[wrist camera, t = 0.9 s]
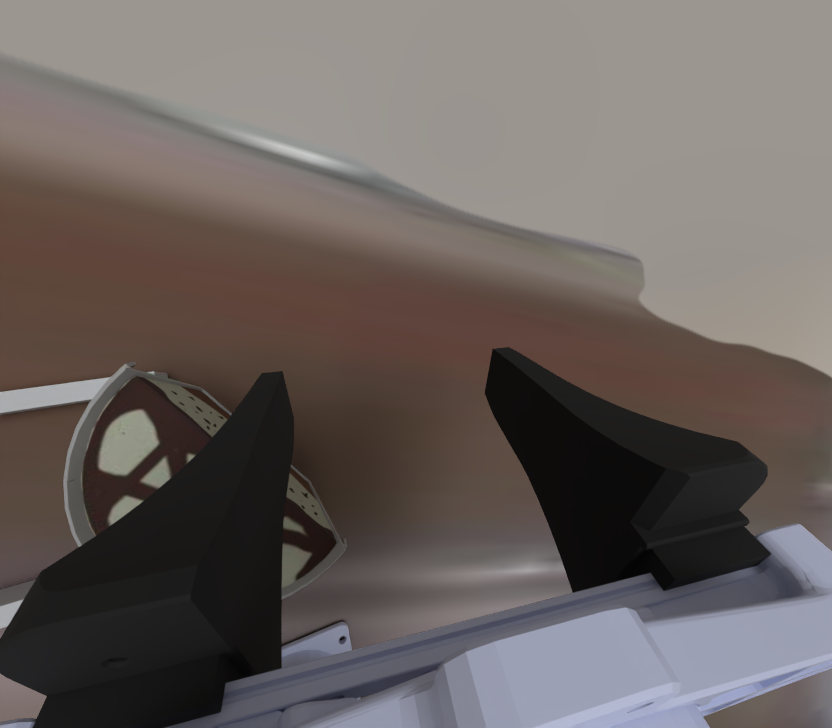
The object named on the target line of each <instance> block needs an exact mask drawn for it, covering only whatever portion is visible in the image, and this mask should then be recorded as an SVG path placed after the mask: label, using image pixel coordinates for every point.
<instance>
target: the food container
mask: <svg viewBox="0 0 832 728" xmlns="http://www.w3.org/2000/svg"><path fill="white" fill-rule="evenodd" d="M135 365H136V363H135V362H134V361H132V362H129V363H126V364H124V365H123V366H122V367H121V368H120V369H119V370H118V371H117V372H116V373H115V374H114V375H113V376H112V377H110V378H109V379H108V380H107V381H106V382H105V384H104V385H103V386H102V388H101V389H100V390H99V391H98V393H97V394H96V395H95V396H94V398H93V399H92V400H91V401H90V403H89V404H88V406H87V408H86V410H85V412H84V414H83V415H82V417H81V419H80V421H79V423H78V424H77V426H76V429H75V432H74V435H73V438H72V440H71V443H70V446H69V449H68V452H67V459H66V466H65V473H64V482H63V484H64V500H65V510H66V514H67V518H68V521H69V525H70V528H71V532H72V535H73V537H74V539H75V541H76V542H77V544H78V546H79V547H80V546H81V545H83V544H84V543H86V542H87V541H89V540H91V539H92V538H94V537H95V536H97V535H98V534H99V533H101V532H102V531H104V530H105V529H107V528H108V527H109V526H111V525H112V524H113V523H115V522H116V521H118V520H119V519H120V518H122V517H123V516H124V515H126V514H127V513H129V512H130V511H131V510H132V509H134V508H135V507H136V506H138V505H139V504H140V503H142V502H143V501H144V500H145V499H147V498H148V497H149V496H150V495H152V494H153V493H154V492H155V491H156V490H157V489H159V488H160V487H161V486H162V485H163V484H165V483H166V482H167V481H168V480H169V479H170V478H172V477H173V476H174V475H175V474H176V473H177V472H179V471H180V470H181V469H182V468H183V467H184V466H185V465H186V464H187V463H188V462H189V461H190V460H191V459H192V458H193V457H194V456H195V455H196V454H197V453H198V452H199V451H200V450H201V449H202V448H203V447H204V446H205V445H206V444H207V443H208V442H209V441H210V439H211V438H212V437H213V436H214V435H215V434H216V433H217V431H218V430H219V429H220V428H221V427H222V426H223V424H224V423H225V422H226V421H227V420H228V418H229V417H230V416H231V415H232V413H231V412H230V411H228V410H227V409H226V408H225V407H224V406H223V405H221V404H220V403H219V402H218V401H217V400H216V399H215V398H213V397H212V396H211V395H210V394H209V393H208V392H206V391H205V390H204V389H203V388H202V387H199V386H195V385H191V384H188V383H184V382H180V381H177V380H173V379H169V378H165V377H162V376H158V375H154V374H151V373H147V372H143V371H139V370H136V369H133V367H134V366H135ZM346 549H347V540H346V539H345V538H343V539H342V540H341V539H340V537H339V535H338V533H337V531H336V529H335V527H334V525H333V523H332V522H331V520H330V518H329V516H328V514H327V512H326V510H325V508H324V506H323V504H322V502H321V500H320V498H319V497H318V495H317V493H316V491H315V489H314V487H313V485H312V483H311V481H310V480H309V479H308V478H306V477H305V476H304V475H303V474H302V473H301V472H299V471H298V470H297V469H296V468H295V467H294V466H292V465H291V468H290V475H289V482H288V489H287V496H286V503H285V511H284V522H283V549H282V599H284V598H286V597H288V596H290V595H292V594H294V593H296V592H297V591H299V590H300V589H302V588H304V587H305V586H307V585H308V584H310V583H311V582H313V581H314V580H315V579H317V578H318V577H319V576H320V575H322V574H323V573H324V572H325V571H326V570H328V569H329V568H330V567H331V566H332V565H333V564H334V563H335V562H336V561H337V560H338V559H339V558H340V557H341V556H342V554H343V553H344V552H345V551H346Z"/></svg>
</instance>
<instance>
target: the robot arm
mask: <svg viewBox="0 0 832 728" xmlns="http://www.w3.org/2000/svg"><path fill="white" fill-rule="evenodd" d="M485 395H486V397H487V400H488V403H489V405H490V408H491V410H492V412H493V415H494V417H495V419H496V421H497V422H498V424H499V426H500V428H501V430H502V431H503V433H504V435H505V436H506V438H507V440H508V442H509V443H510V445H511V447H512V449H513V450H514V452H515V454H516V455H517V457H518V459H519V461H520V462H521V464H522V466H523V468H524V470H525V472H526V474H527V475H528V477H529V480H530V482H531V484H532V486H533V489H534V491H535V493H536V496H537V498H538V500H539V502H540V505H541V507H542V510H543V512H544V515H545V517H546V519H547V522H548V524H549V527H550V529H551V532H552V535H553V537H554V540H555V543H556V545H557V548H558V551H559V553H560V556H561V559H562V562H563V565H564V568H565V571H566V574H567V577H568V580H569V583H570V585H571V588H572V592H573V593H570V594H567V595H563V596H559V597H555V598H551V599H547V600H543V601H540V602H536V603H532V604H528V605H524V606H520V607H516V608H513V609H509V610H505V611H501V612H497V613H493V614H489V615H486V616H482V617H478V618H474V619H470V620H466V621H462V622H459V623H455V624H451V625H447V626H443V627H439V628H435V629H432V630H428V631H424V632H420V633H416V634H412V635H408V636H405V637H401V638H397V639H393V640H389V641H385V642H381V643H378V644H374V645H370V646H366V647H362V648H358V649H354V650H352V647H351V641H350V635H349V629H348V626H347V624H346V623H345V622H339V623H337V624H334V625H332V626H329V627H327V628H325V629H322V630H320V631H318V632H315V633H313V634H310V635H308V636H306V637H303V638H301V639H299V640H296V641H294V642H291V643H289V644H287V645H284V646H282V644H281V606H282V549H283V522H284V511H285V503H286V496H287V489H288V482H289V475H290V468H291V460H292V453H293V444H294V417H293V413H292V409H291V405H290V401H289V396H288V392H287V388H286V384H285V380H284V376H283V372H282V371H280V372H271V373H262V374H261V375H260V377H259V378H258V379H257V381H256V382H255V384H254V385H253V386H252V388H251V389H250V391H249V392H248V393H247V395H246V396H245V398H244V399H243V400H242V402H241V403H240V404H239V406H238V407H237V408H236V409H235V411H234V412H233V413H232V415H231V416H230V417H229V418H228V420H227V421H226V422H225V423H224V424H223V426H222V427H221V428H220V429H219V430H218V431H217V433H216V434H215V435H214V436H213V437H212V438H211V439H210V441H209V442H208V443H207V444H206V445H205V446H204V447H203V448H202V449H201V450H200V451H199V452H198V453H197V454H196V455H195V456H194V457H193V458H192V459H191V460H190V461H189V462H188V463H187V464H186V465H185V466H184V467H183V468H182V469H181V470H180V471H179V472H177V473H176V474H175V475H174V476H173V477H172V478H170V479H169V480H168V481H167V482H166V483H165V484H163V485H162V486H161V487H160V488H159V489H157V490H156V491H155V492H154V493H153V494H152V495H150V496H149V497H148V498H147V499H145V500H144V501H143V502H142V503H140V504H139V505H138V506H136V507H135V508H134V509H132V510H131V511H130V512H129V513H127V514H126V515H124V516H123V517H122V518H120V519H119V520H118V521H116V522H115V523H113V524H112V525H111V526H109V527H108V528H107V529H105V530H104V531H102V532H101V533H99V534H98V535H97V536H95V537H94V538H92V539H91V540H89V541H87V542H86V543H84V544H83V545H81V546H80V547H78V548H77V549H75V550H74V551H72V552H71V553H69V554H68V555H66V556H65V557H63V558H62V559H60V560H59V561H57V562H56V563H54V564H52V565H51V566H49V567H48V568H46V569H44V570H43V571H41V573H40V574H39V576H38V577H37V579H36V581H35V582H34V584H33V585H32V587H31V588H30V590H29V591H28V593H27V595H26V596H25V598H24V600H23V601H22V603H21V605H20V606H19V608H18V610H17V612H16V613H15V615H14V617H13V618H12V620H11V622H10V623H9V625H8V627H7V628H6V630H5V632H4V634H3V635H2V637H1V639H0V673H1V674H2V675H4V676H5V677H7V678H9V679H11V680H13V681H15V682H18V683H20V684H22V685H24V686H26V687H28V688H31V689H33V690H35V691H37V692H39V693H42V694H44V695H46V696H47V698H46V700H45V702H44V704H43V706H42V708H41V711H40V713H39V715H38V717H37V719H34V718H23V719H15V720H9V721H4V722H0V728H710V727H709V726H708V724H707V722H706V721H705V719H704V718H703V716H706V715H709V714H711V713H714V712H716V711H719V710H722V709H724V708H727V707H729V706H732V705H735V704H737V703H740V702H743V701H745V700H748V699H750V698H753V697H756V696H758V695H761V694H764V693H766V692H769V691H771V690H774V689H777V688H779V687H782V686H785V685H787V684H790V683H793V682H795V681H798V680H801V679H803V678H806V677H809V676H812V675H814V674H817V673H820V672H823V671H825V670H828V669H831V668H832V551H831V550H829V549H828V548H827V547H826V546H825V545H824V544H822V543H821V542H820V541H819V540H818V539H817V538H815V537H814V536H813V535H812V534H811V533H810V532H809V531H807V530H806V529H805V528H804V527H803V526H802V525H800V524H797V523H794V524H790V525H786V526H782V527H778V528H774V529H770V530H766V531H764V532H761V533H759V534H757V535H756V536H753V535H752V534H751V533H750V532H749V531H748V530H747V529H746V528H745V527H744V526H747V525H748V524H749V520H748V518H747V517H746V516H745V515H743V514H742V513H741V512H740V511H739V509H740V508H741V507H742V506H743V504H744V503H745V502H746V501H747V500H748V499H749V498H750V497H751V496H752V495H753V494H754V493H755V492H756V491H757V490H758V489H759V488H760V487H761V485H762V484H763V483H764V481H765V479H766V477H767V465H766V464H765V463H764V462H762V461H761V460H760V459H759V458H757V457H756V456H755V455H754V454H753V453H751V452H750V451H749V450H748V449H746V448H745V447H744V446H743V445H741V444H740V443H738V442H736V441H732V440H728V439H724V438H720V437H715V436H711V435H707V434H703V433H699V432H695V431H691V430H687V429H684V428H681V427H677V426H674V425H670V424H667V423H664V422H661V421H658V420H655V419H652V418H649V417H646V416H643V415H640V414H638V413H635V412H632V411H630V410H627V409H624V408H622V407H619V406H617V405H615V404H612V403H610V402H608V401H606V400H603V399H601V398H599V397H597V396H594V395H592V394H590V393H588V392H586V391H584V390H582V389H581V388H579V387H577V386H575V385H573V384H571V383H569V382H567V381H566V380H564V379H562V378H560V377H559V376H557V375H555V374H553V373H552V372H550V371H548V370H547V369H545V368H543V367H542V366H540V365H538V364H537V363H535V362H533V361H532V360H530V359H528V358H527V357H525V356H523V355H522V354H520V353H518V352H517V351H515V350H513V349H511V348H509V347H506V348H497V349H493V350H492V356H491V361H490V367H489V372H488V378H487V383H486V389H485ZM342 636H345V638H344V639H343V640H341V641H340V640H339V639H340V637H342ZM374 693H376V694H374ZM371 694H373V695H371ZM367 695H371V696H368V697H366V698H363V699H360V697H364V696H367Z"/></svg>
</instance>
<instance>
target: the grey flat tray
mask: <svg viewBox="0 0 832 728" xmlns="http://www.w3.org/2000/svg"><path fill="white" fill-rule="evenodd" d="M147 373H151V374H154V375H158V376H162V377H165V378H168V374H167V373H162V372H155V371H153V372H147ZM109 378H110V377H109ZM109 378H101V379H94V380H87V381H79V382H72V383H64V384H57V385H50V386H42V387H35V388H27V389H20V390H13V391H5V392H0V415H5V414H12V413H18V412H25V411H32V410H38V409H45V408H51V407H58V406H64V405H71V404H77V403H84V402H90V401H91V400H92V399H93V398H94V396H95V395H96V394H97V393H98V391H99V390H100V389H101V388H102V386H103V385H104V384H105V382H106V381H107V380H108V379H109ZM35 581H36V579H35V580H32V581H28V582H25V583H21V584H18V585H14V586H11V587H7V588H4V589H0V628H3V627H7V626H8V625H9V623H10V622H11V620H12V618H13V617H14V615H15V613H16V612H17V610H18V608H19V606H20V605H21V603H22V601H23V600H24V598H25V596H26V595H27V593H28V591H29V590H30V588H31V587H32V585H33V584H34V582H35Z"/></svg>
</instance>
